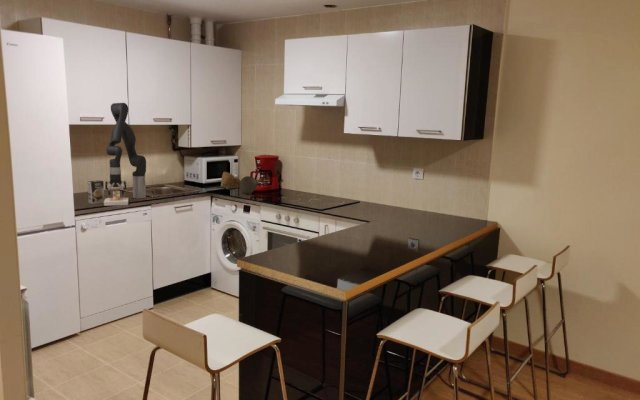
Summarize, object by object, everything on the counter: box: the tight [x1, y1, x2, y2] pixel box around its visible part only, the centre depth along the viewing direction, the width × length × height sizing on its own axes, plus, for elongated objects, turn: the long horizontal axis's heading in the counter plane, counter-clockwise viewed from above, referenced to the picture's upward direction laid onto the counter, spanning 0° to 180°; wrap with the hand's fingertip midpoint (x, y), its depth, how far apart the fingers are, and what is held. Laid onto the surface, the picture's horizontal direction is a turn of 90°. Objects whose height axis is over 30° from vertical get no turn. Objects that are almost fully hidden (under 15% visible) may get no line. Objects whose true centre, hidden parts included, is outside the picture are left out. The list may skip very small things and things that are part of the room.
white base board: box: [103, 196, 129, 206], centre depth 357 cm, size 16×16×3 cm
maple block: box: [112, 190, 121, 200], centre depth 356 cm, size 4×4×6 cm
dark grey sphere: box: [239, 175, 258, 195], centre depth 413 cm, size 14×14×15 cm
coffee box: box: [87, 179, 105, 205], centre depth 355 cm, size 9×6×16 cm
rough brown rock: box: [220, 171, 241, 190], centre depth 439 cm, size 23×17×15 cm
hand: (116, 195), depth 356 cm, fingers open, 8 cm apart
